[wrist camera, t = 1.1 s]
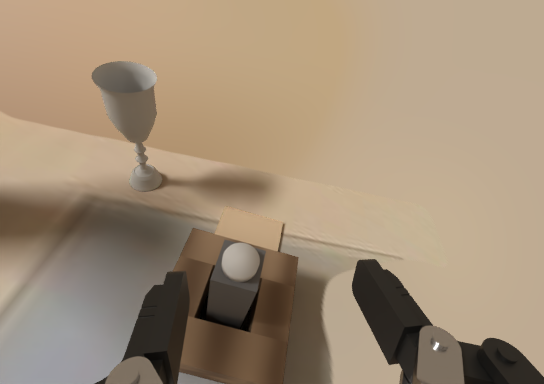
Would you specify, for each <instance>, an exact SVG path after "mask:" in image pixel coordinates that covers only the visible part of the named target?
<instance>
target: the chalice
mask: <svg viewBox="0 0 544 384" xmlns="http://www.w3.org/2000/svg"><path fill="white" fill-rule="evenodd" d="M92 79H93V81H94V83H95V84H96V85H97V86H98V87H99V88H100V90H101V94H102V98H103V101H104V105H105V109H106V112H107V115H108V117H109V119H110V120H111V121H112V123H113V124H114V126H115V127H116V128H117V129H118V130H119V131H120V132H121V133H122V134H123V135H124V136H125V137H126V138H127V139H128V140H129V141H130V142H133V143H136V146H135V148H134V151H135V152H136V153H137V154H138V156H137V157H136V161H137V162H139V163H140V165H138V166H137V167H135V168H134V169H133V171H132V174H131V177H130V179H129V184H130V185H131V187H132V188H134V189H135V190H138V191H144V192H145V191H151V190H154V189H156V188H157V187H159V186H160V184H161V183H162V176H161V175H160V173H159V172H158V171H157V170H156V169H155V167H153V166H151V165H148V164H146V161H147V160H148V157H147V156H146V155H144V152H145V150H146V148H145V147H144V146H143V144H142V142H144V141H145V140H146V139H147V138H148V136H149V134H150V132H151V129H152V127H153V125H154V121H155V118H156V114H157V112H156V104H155V96H154V85H155V83H156V80H157V76H156V74H155V73H154V71H153V70H151V69H150V68H148V67H147V66H144V65H141V64H138V63H133V62H124V61H118V62H110V63H106V64H103V65H101V66H99V67H97V68H96V69H95V70H94V71H93V73H92Z"/></svg>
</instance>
